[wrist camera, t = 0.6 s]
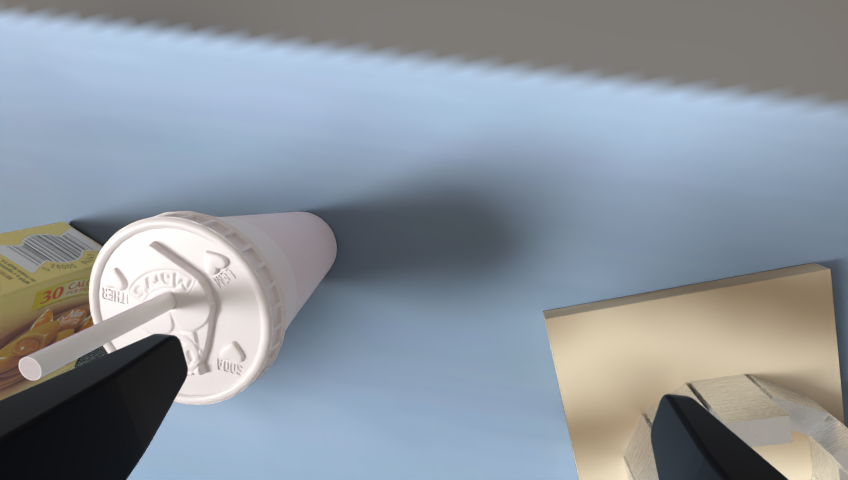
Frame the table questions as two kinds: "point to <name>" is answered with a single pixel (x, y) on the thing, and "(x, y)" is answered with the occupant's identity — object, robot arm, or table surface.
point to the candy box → (41, 295)
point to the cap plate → (693, 356)
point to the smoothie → (201, 294)
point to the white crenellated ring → (753, 423)
